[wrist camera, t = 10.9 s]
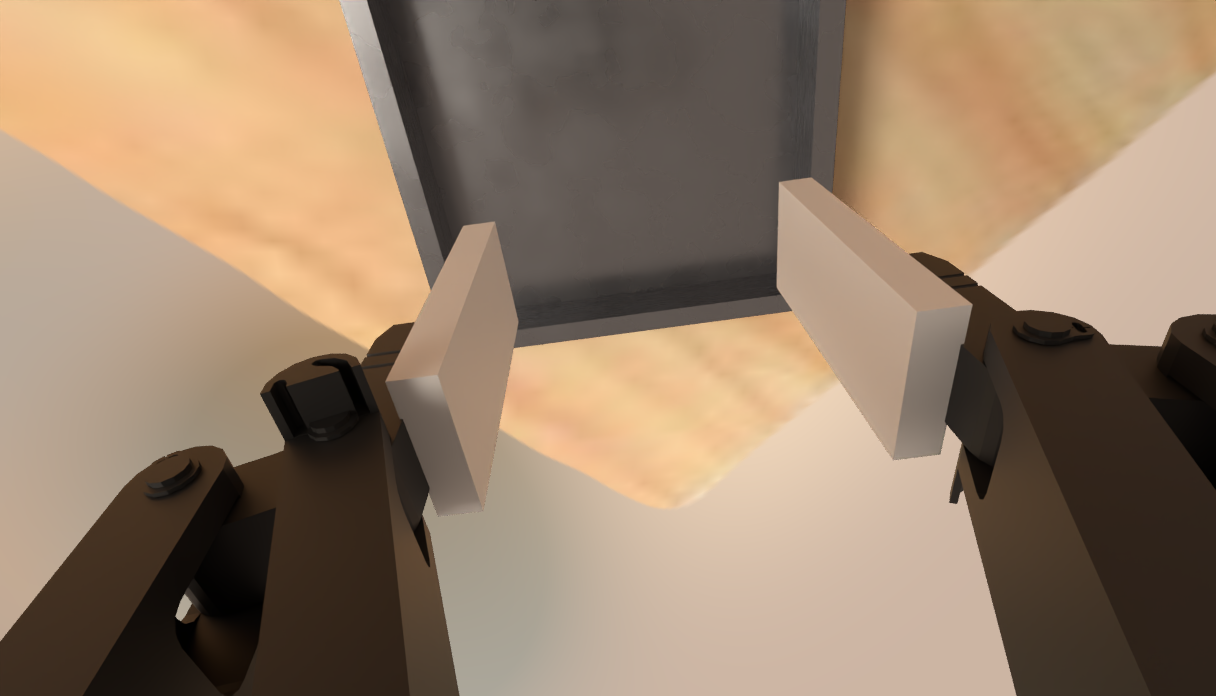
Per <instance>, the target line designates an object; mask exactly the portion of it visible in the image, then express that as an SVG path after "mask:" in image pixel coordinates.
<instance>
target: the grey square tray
mask: <svg viewBox="0 0 1216 696" xmlns="http://www.w3.org/2000/svg"><path fill="white" fill-rule="evenodd" d="M339 1H340V5H341V8H342V11H343V14H344V17H345V20H346V23H347V27H348V30H349V33H350V36H351V39H352V42H353V46H354V49H355V52H356V55H357V58H358V61H359V65H360V68H361V71H362V74H363V77H364V80H365V83H366V87H367V90H368V93H369V96H370V99H371V102H372V106H373V109H374V112H375V115H376V118H377V121H378V125H379V128H380V131H381V134H382V137H383V140H384V144H385V147H386V150H387V153H388V156H389V159H390V162H391V166H392V169H393V172H394V175H395V178H396V181H397V185H398V188H399V191H400V194H401V197H402V200H403V204H404V207H405V210H406V213H407V216H408V219H409V223H410V226H411V229H412V232H413V235H414V238H415V241H416V245H417V248H418V251H419V254H420V257H421V260H422V264H423V267H424V270H425V273H426V276H427V279H428V283H429V286H430V289H432V287H433V285H434V283H435V281H436V279H437V277H438V275H439V273H440V271H441V269H442V267H443V265H444V263H445V261H446V259H447V257H448V255H449V253H450V251H451V249H452V247H453V245H454V243H455V241H456V239H457V237H458V235H459V233H460V231H461V229H462V228H463V226H466V225H473V224H480V223H487V222H495V224H496V229H497V233H498V237H499V241H500V246H501V250H502V254H503V258H504V262H505V267H506V271H507V275H508V279H509V284H510V288H511V292H512V296H513V301H514V305H515V309H516V313H517V318H518V327H517V333H516V338H515V343H514V348H518V347H525V346H533V345H540V344H548V343H555V342H563V341H570V340H578V339H585V338H593V337H600V336H608V335H615V334H623V333H630V332H638V331H645V330H653V329H660V328H668V327H675V326H683V325H690V324H698V323H705V322H713V321H720V320H728V319H735V318H743V317H750V316H758V315H765V314H773V313H781V312H788V311H792V309H791V308H790V306H789V305H788V303H787V302H786V300H785V299H784V298H783V296H782V295H781V293H780V292H779V290H778V289H777V247H778V202H779V182H782V181H789V180H796V179H804V178H811V177H812V178H813V179H814V180H815V181H817V182H818V183H819V184H820V185H822V186H823V187H824V188H826V189H827V190H828V191H829V192H831V193H832V189H833V175H834V162H835V148H836V134H837V120H838V106H839V92H840V78H841V64H842V50H843V37H844V23H845V9H846V0H339Z"/></svg>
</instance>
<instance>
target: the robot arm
mask: <svg viewBox="0 0 1216 696" xmlns="http://www.w3.org/2000/svg"><path fill="white" fill-rule="evenodd" d="M777 289H778V290H779V292H780V293H781V295H782V296H783V298H784V299H785V300H786V302H787V303H788V305H789V306H790V308H791V309H792V311H793V312H794V314H795V315H796V317H797V318H798V320H799V321H800V323H801V324H802V326H803V327H804V329H805V330H806V332H807V333H808V335H809V336H810V338H811V339H812V341H813V342H814V344H815V345H816V347H817V348H818V349H819V351H820V352H821V354H822V355H823V357H824V358H825V360H826V361H827V363H828V364H829V366H830V367H831V369H832V370H833V372H834V373H835V375H836V376H837V378H838V379H839V381H840V382H841V384H842V385H843V387H844V388H845V390H846V391H847V392H848V394H849V396H850V397H851V399H852V400H853V401H854V403H855V404H856V406H857V407H858V409H859V410H860V412H861V413H862V415H863V416H864V418H865V419H866V421H867V422H868V424H869V425H870V427H871V428H872V430H873V431H874V433H875V434H876V435H877V437H878V439H879V440H880V442H881V443H882V444H883V446H884V447H885V449H886V450H887V452H888V453H889V455H890V456H891V458H892V459H893V460H899V459H907V458H915V457H923V456H931V455H939V454H940V453H941V449H942V444H943V440H944V434H945V430H946V425H948V426H949V428H950V429H951V430H952V431H953V432H954V433H955V435H956V436H957V437H958V438H959V439H960V440H961V442H962V445H961V449H960V453H959V458H958V462H957V466H956V470H955V475H954V479H953V483H952V487H951V492H950V501H949V502H950V503H955V504H957V502H958V498H959V495H960V492H962V491H963V490H964V493H965V497H966V501H967V505H968V509H969V513H970V517H971V520H972V525H973V528H974V532H975V536H976V540H977V544H978V548H979V551H980V555H981V559H982V563H983V567H984V571H985V574H986V579H987V583H988V586H989V590H990V594H991V598H992V602H993V606H994V609H995V614H996V617H997V621H998V625H999V629H1000V633H1001V636H1002V640H1003V644H1004V648H1005V652H1006V656H1007V660H1008V664H1009V668H1010V672H1011V675H1012V679H1013V683H1014V687H1015V691H1016V695H1017V696H1216V315H1211V314H1207V315H1206V314H1197V315H1192V316H1187V317H1181V318H1179V319H1178V320H1176V321H1175V322H1173V323H1172V324H1171V326H1170V328H1169V330H1168V332H1167V335H1166V337H1165V340H1164V342H1163V345H1162V347H1158V346H1135V345H1111V344H1108V342H1107V341H1106V339H1105V338H1104V337H1103V335H1102V334H1101V333H1099V332H1098V331H1097V330H1096V329H1095V328H1093V327H1092V326H1091V325H1089V324H1087V323H1085V322H1083V321H1080V320H1078V319H1076V318H1073V317H1069V316H1065V315H1061V314H1057V313H1054V312H1045V311H1034V310H1027V311H1016V310H1014V309H1013V308H1011V307H1010V306H1009V305H1007V304H1006V303H1004V302H1003V301H1002V300H1000V299H999V298H998V297H996V296H995V295H994V294H992V293H991V292H989V291H988V290H987V289H985V288H984V287H982V286H978V283H977V282H976V281H974V280H973V279H971V278H970V277H969V276H964V273H963V272H962V271H960V270H959V269H958V268H956V267H955V266H954V265H952V264H951V263H949V262H948V261H946V260H943V259H940V258H937V257H935V256H932V255H929V254H926V253H923V252H919V253H912V254H908V253H907V252H905V251H904V250H903V249H902V248H900V247H899V246H898V245H896V244H895V243H894V242H893V241H891V240H890V239H889V238H888V237H886V236H885V235H884V234H883V233H881V232H880V231H879V230H877V229H876V228H875V227H874V226H872V225H871V224H870V223H869V222H867V221H866V220H865V219H864V218H862V217H861V216H860V215H858V214H857V213H856V212H855V211H853V210H852V209H851V208H850V207H848V206H847V205H846V204H845V203H843V202H842V201H841V200H839V199H838V198H837V197H836V196H834V195H833V194H832V193H831V192H829V191H828V190H827V189H826V188H824V187H823V186H822V185H820V184H819V183H818V182H817V181H815V180H814V179H813V178H812V177H811V178H804V179H796V180H789V181H782V182H779V202H778V247H777ZM517 327H518V318H517V313H516V309H515V305H514V301H513V296H512V292H511V288H510V284H509V279H508V275H507V271H506V267H505V262H504V258H503V254H502V250H501V246H500V241H499V237H498V233H497V229H496V224H495V222H487V223H480V224H473V225H466V226H463V228H462V229H461V231H460V233H459V235H458V237H457V239H456V241H455V243H454V245H453V247H452V249H451V251H450V253H449V255H448V257H447V259H446V261H445V263H444V265H443V267H442V269H441V271H440V273H439V275H438V277H437V279H436V281H435V283H434V285H433V287H432V289H431V291H430V293H429V295H428V297H427V299H426V301H425V303H424V305H423V307H422V309H421V311H420V313H419V315H418V317H417V319H416V321H415V322H413V323H406V324H398V325H393V326H392V327H391V328H389V329H388V330H387V331H386V332H384V333H383V334H382V335H381V336H379V337H378V338H377V339H376V340H375V341H374V343H373V345H372V346H371V348H370V350H369V352H368V353H367V357H366V358H364V360H363V362H362V364H361V365H360V363H359V361H358V359H357V358H356V357H354V356H351V355H348V354H328V355H322V356H317V357H313V358H310V359H307V360H305V361H302V362H299V363H296V364H294V365H292V366H290V367H289V368H287V369H285V370H284V371H281V372H280V373H278V374H277V375H276V376H274V377H273V378H272V379H271V380H270V381H269V382H267V383H266V385H265V386H264V388H263V390H262V391H261V393H260V395H261V397H262V399H263V401H264V402H265V404H266V406H267V408H268V410H269V412H270V414H271V416H272V417H273V419H274V421H275V423H276V425H277V427H278V429H279V430H280V432H281V434H282V436H283V438H284V440H285V445H284V451H281V452H279V453H276V454H273V455H270V456H267V457H264V458H261V459H258V460H255V461H252V462H248V463H245V464H242V465H239V466H236V467H233V465H232V464H231V462H230V460H229V459H228V457H227V456H226V454H225V452H224V451H223V449H220V448H217V447H214V446H200V447H193V448H189V449H186V450H183V451H176V452H174V453H171V454H169V455H167V457H165V456H164V457H162V458H160V459H158V460H156V461H155V462H153V463H152V464H151V465H150V466H149V467H147V468H146V469H144V470H143V471H141V472H140V473H138V474H137V475H136V476H135V477H134V478H133V479H132V480H131V481H130V482H129V483H128V484H126V485H125V486H124V488H123V489H122V490H121V491H120V492H119V494H118V495H117V496H116V497H115V499H114V500H113V501H112V503H111V504H110V505H109V506H108V507H107V509H106V510H105V511H104V512H103V514H102V515H101V516H100V518H99V519H98V520H97V521H96V523H95V524H94V525H93V526H92V527H91V529H90V530H89V531H88V533H87V534H86V535H85V536H84V537H83V539H82V540H81V541H80V542H79V544H78V545H77V546H76V548H75V549H74V550H73V551H72V553H71V554H70V555H69V556H68V557H67V559H66V560H65V561H64V562H63V564H62V565H61V566H60V567H59V569H58V570H57V571H56V572H55V574H54V575H53V576H52V578H51V579H50V580H49V581H48V582H47V584H46V585H45V586H44V588H43V589H42V590H41V591H40V593H39V594H38V595H37V596H36V598H35V599H34V600H33V601H32V603H31V604H30V605H29V606H28V608H27V609H26V610H25V611H24V613H23V614H22V615H21V616H20V618H19V619H18V620H17V621H16V623H15V624H14V625H13V626H12V628H11V629H10V630H9V631H8V633H7V634H6V635H5V636H4V638H3V639H2V640H1V641H0V696H459V691H458V686H457V680H456V675H455V669H454V664H453V658H452V652H451V647H450V641H449V636H448V630H447V625H446V619H445V614H444V608H443V603H442V597H441V592H440V586H439V580H438V575H437V569H436V564H435V558H434V553H433V547H432V542H431V536H430V532H429V530H428V527H427V525H426V522H425V520H424V518H423V515H422V513H423V510H424V506H425V503H426V500H427V497H428V493H429V494H430V497H431V499H432V502H433V505H434V507H435V510H436V512H437V515H438V517H440V516H448V515H455V514H464V513H472V512H480V511H483V510H484V505H485V499H486V494H487V488H488V483H489V478H490V472H491V467H492V461H493V456H494V451H495V446H496V439H497V435H498V429H499V424H500V419H501V413H502V408H503V403H504V397H505V392H506V386H507V381H508V376H509V370H510V365H511V360H512V354H513V349H514V343H515V338H516V333H517ZM184 594H185V595H186V596H187V597H188V598H189V600H190V601H191V602H192V605H191V607H190V608H189V610H188V612H187V614H186V616H185V617H184V618H183V620H182V621H180V620H178V619H177V618H176V617H175V616H176V613H177V609H178V607H179V603H180V601H181V599H182V597H183V595H184Z"/></svg>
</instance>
